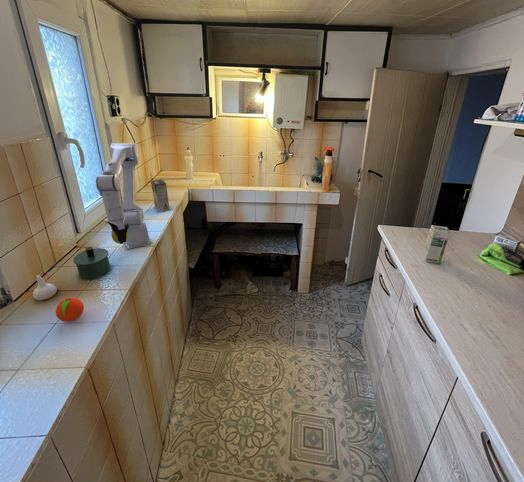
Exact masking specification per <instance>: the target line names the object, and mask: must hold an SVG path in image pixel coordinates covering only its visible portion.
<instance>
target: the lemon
mask: <svg viewBox="0 0 524 482" xmlns="http://www.w3.org/2000/svg"><path fill="white" fill-rule="evenodd" d="M110 236H111V239H112V241H113V242H114V243H115V244H119V245H123V244H124V243H120V242H119V240H118V238H117V236H116V234H115V232H114V231H113V230H112V229H111V233H110ZM127 238H128V234H127V236H126V240H127Z"/></svg>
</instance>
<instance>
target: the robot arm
mask: <svg viewBox="0 0 524 482" xmlns="http://www.w3.org/2000/svg"><path fill="white" fill-rule="evenodd" d="M109 152H110V156H111V158H110V161H108V162H106V164H105V166H104V168H103V171H102V173H101V174H99V175H97V176H96V178H95V187H96V189H97V191H98V192H99V195H100V197H102V203H103V206H104V210H105V215H106V218H105V219H103V221H104V223H105V224H108V225H109V226H110V229H111V231H112V230H113V231H114V232H115V234H116V236H117V238H118V240H119V242H120V243H123V244H125V247H126V249H127V250H131V249H134V248H139V247H142V246H147V245H150V244H151V242H150V236H149V231H148V227H147V224H146V222H144V221H145V217H144V210H143V208H142V207H141V206H140V205H139V204H138V203H136V166H138V165H139V163H140V151H139V147H138V145H137V143H136V142H130V143H129V142H128V143H127V142H126V143H125V142H123V143H122V142H121V143H117V142H115V143H114V142H112V143H110V146H109ZM121 176H122V199H121V193H120V189H121ZM127 234H128V238H127V240H126V236H127ZM120 243H119V244H120Z"/></svg>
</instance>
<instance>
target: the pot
mask: <svg viewBox="0 0 524 482" xmlns="http://www.w3.org/2000/svg"><path fill="white" fill-rule="evenodd" d="M75 265H76V266H75V267H76V269H77V272H78V275H79V277H80V279H82V280H87V281H91V280H96V279H100V278H102V277H105V276H106V275H107V274H108V273H110V271H111V264H110V260H109V255H108V256H107V257H106V258H105V259H104V260H102V261H100V262H98V263H95V264H91V265H84V266H82V265H77V264H75Z"/></svg>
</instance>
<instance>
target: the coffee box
mask: <svg viewBox="0 0 524 482" xmlns="http://www.w3.org/2000/svg"><path fill="white" fill-rule="evenodd" d="M150 185H151V191H152V196H153V203H154V207H155V209H156V210H157V211H158V212H159V213H161V212H166V211H170V209H171V208H170V202H169V193H168V187H167V183H166V181H164V179H162V178H161V179H155V180H151V181H150Z"/></svg>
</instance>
